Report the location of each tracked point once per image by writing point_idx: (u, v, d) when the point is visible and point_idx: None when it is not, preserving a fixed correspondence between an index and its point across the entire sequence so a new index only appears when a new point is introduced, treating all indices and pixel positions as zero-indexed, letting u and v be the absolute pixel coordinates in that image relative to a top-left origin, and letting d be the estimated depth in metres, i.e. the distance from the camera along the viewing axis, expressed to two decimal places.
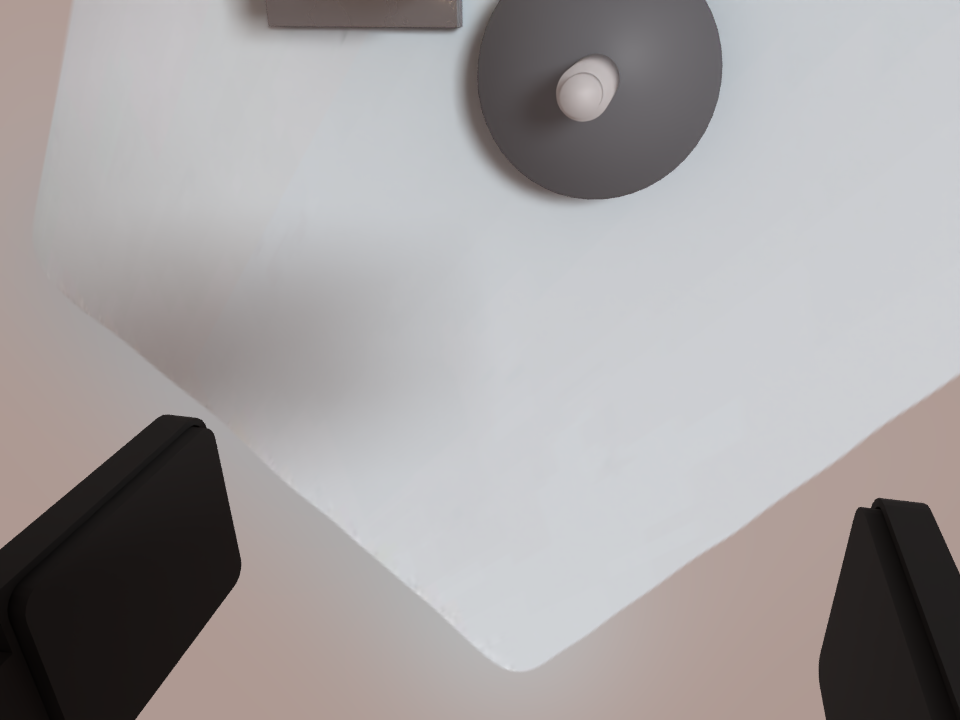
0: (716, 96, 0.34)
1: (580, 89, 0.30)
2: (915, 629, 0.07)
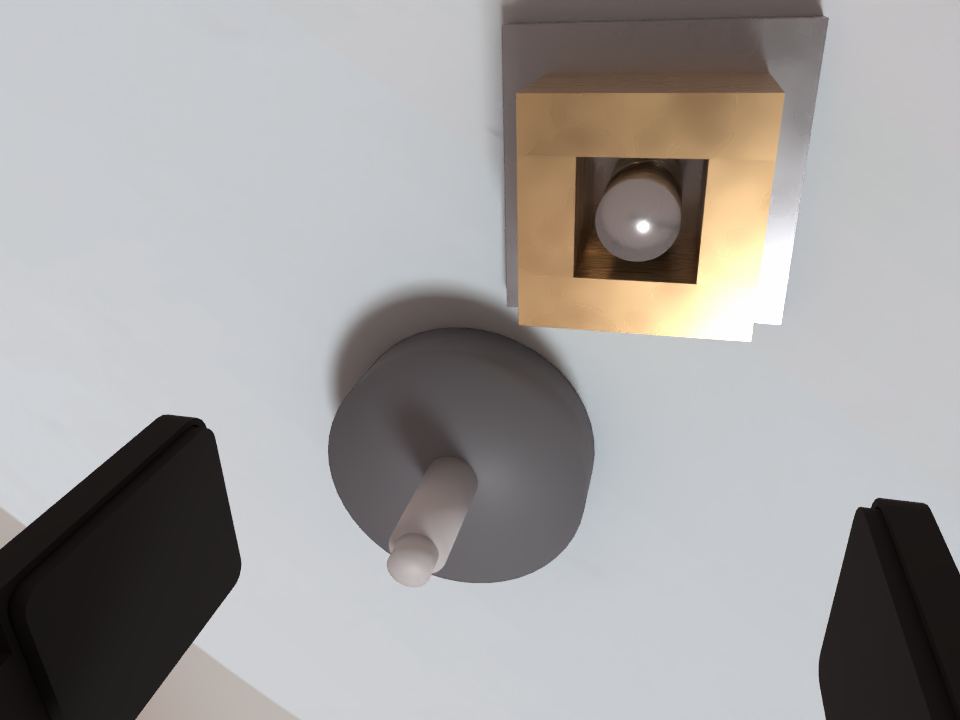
0: (445, 577, 0.34)
1: (415, 570, 0.26)
2: (915, 629, 0.07)
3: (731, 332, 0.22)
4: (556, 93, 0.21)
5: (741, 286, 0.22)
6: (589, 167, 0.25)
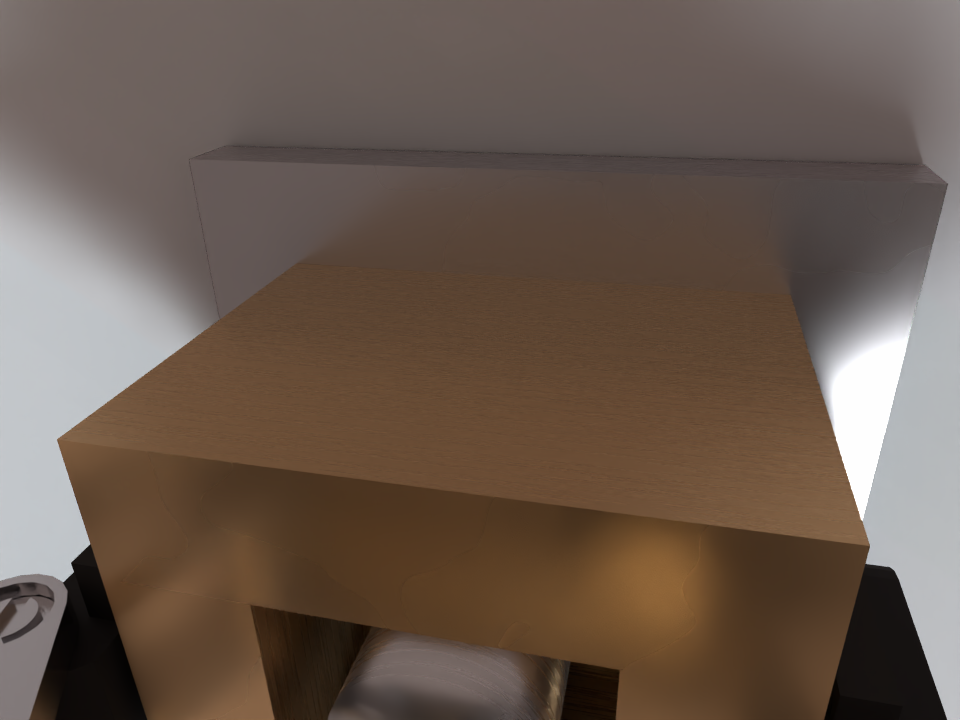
0: None
1: None
2: None
3: None
4: (164, 452, 0.07)
5: None
6: None
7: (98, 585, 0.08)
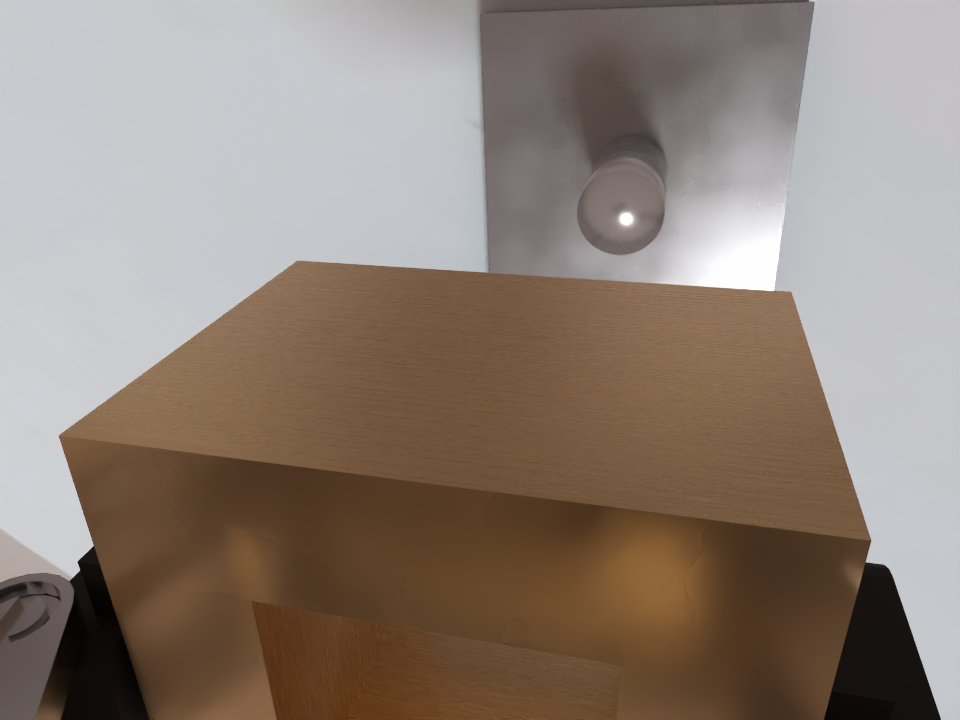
0: None
1: None
2: None
3: None
4: (165, 448, 0.07)
5: None
6: None
7: (105, 584, 0.08)
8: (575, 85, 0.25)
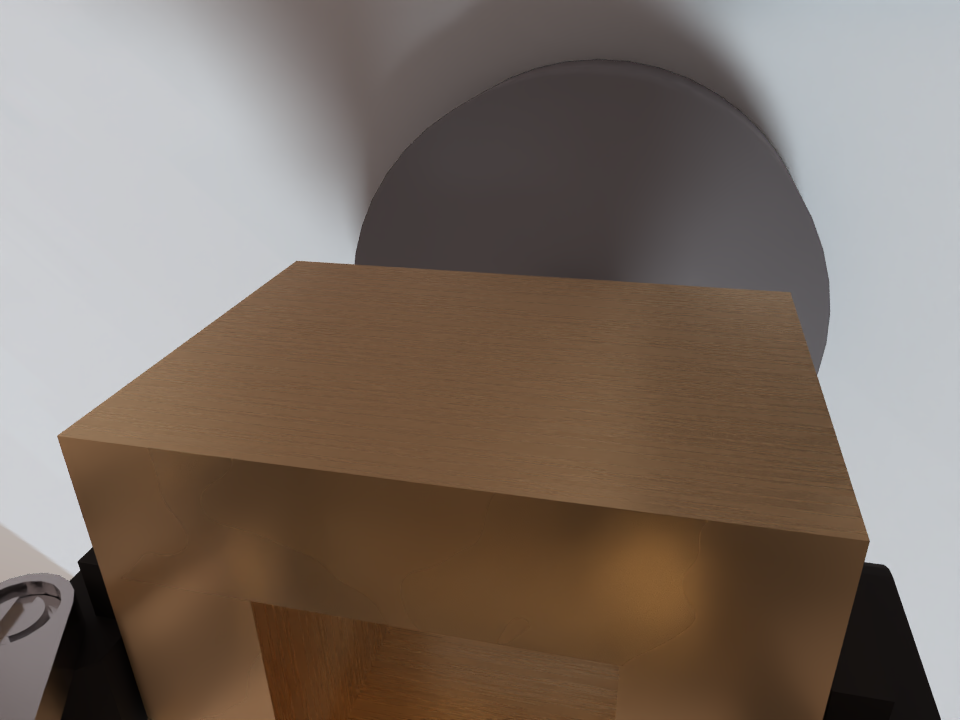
0: None
1: None
2: None
3: None
4: (164, 448, 0.07)
5: None
6: None
7: None
8: None
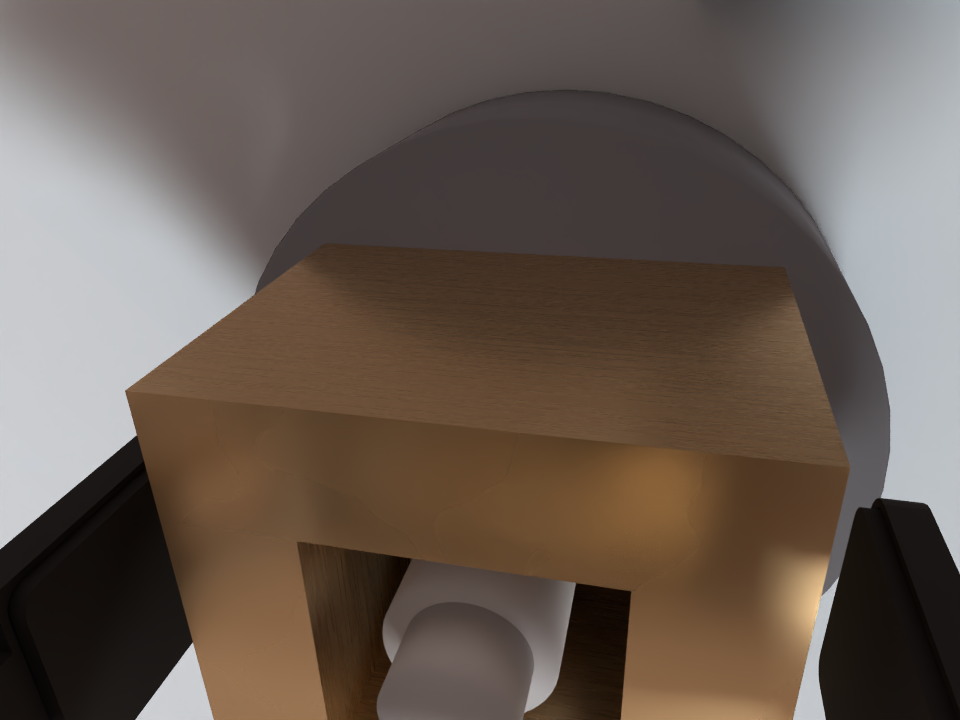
0: None
1: None
2: (915, 629, 0.07)
3: None
4: (222, 400, 0.08)
5: None
6: None
7: None
8: None
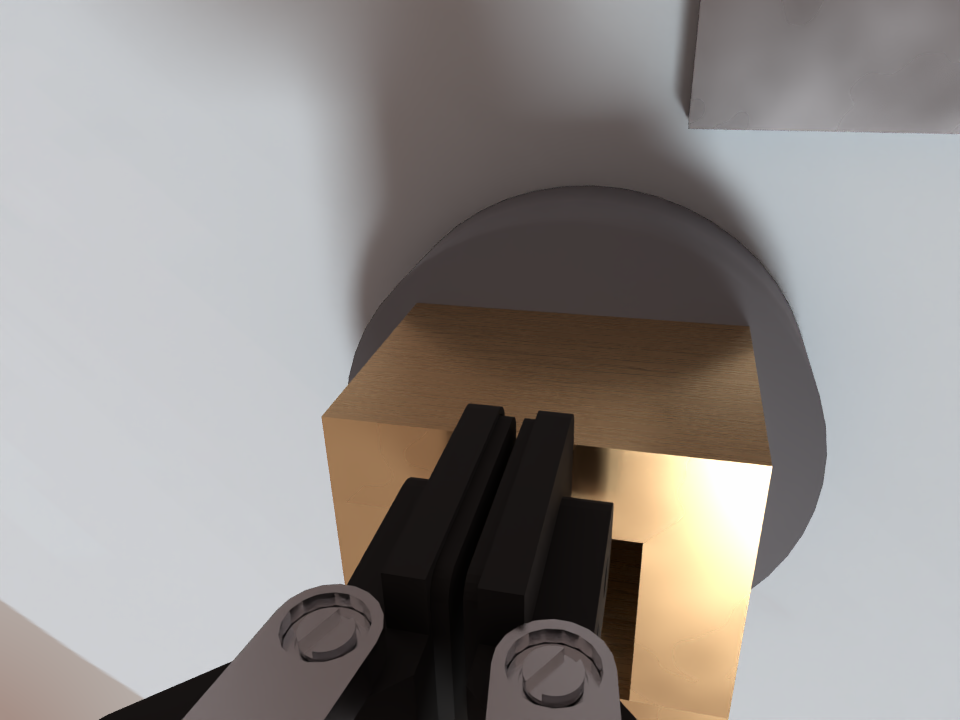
0: None
1: None
2: (503, 496, 0.09)
3: None
4: (386, 423, 0.12)
5: (702, 713, 0.13)
6: None
7: (407, 596, 0.08)
8: None
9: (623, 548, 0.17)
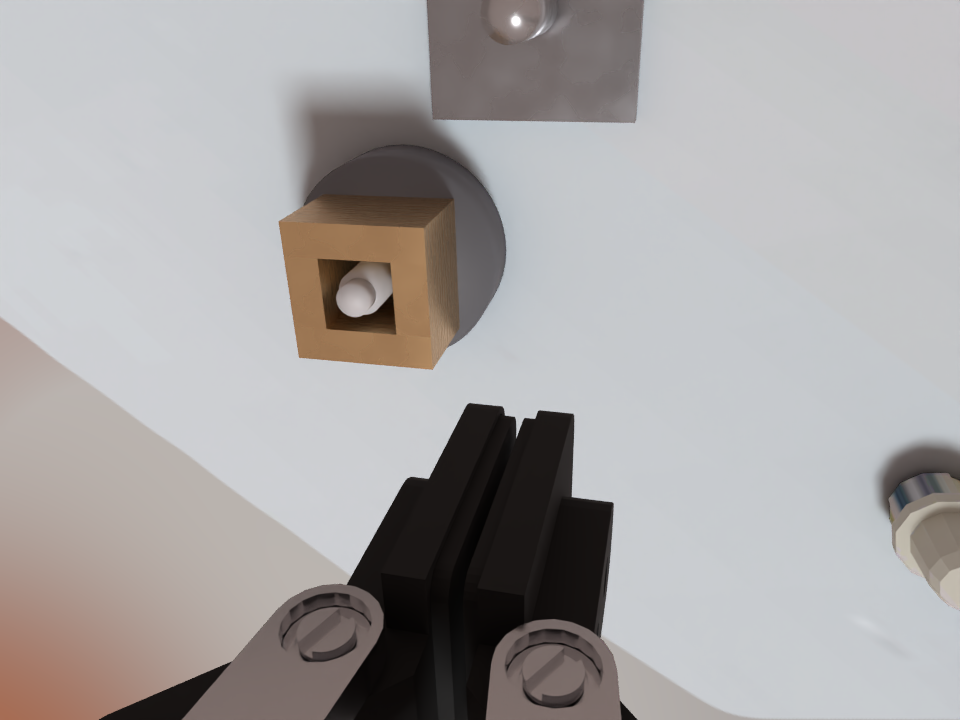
0: None
1: (357, 301, 0.35)
2: (503, 496, 0.09)
3: (420, 363, 0.36)
4: (301, 222, 0.35)
5: (421, 336, 0.36)
6: None
7: (408, 596, 0.08)
8: None
9: None
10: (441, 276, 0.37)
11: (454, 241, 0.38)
